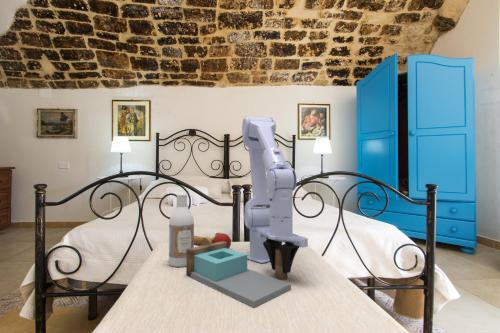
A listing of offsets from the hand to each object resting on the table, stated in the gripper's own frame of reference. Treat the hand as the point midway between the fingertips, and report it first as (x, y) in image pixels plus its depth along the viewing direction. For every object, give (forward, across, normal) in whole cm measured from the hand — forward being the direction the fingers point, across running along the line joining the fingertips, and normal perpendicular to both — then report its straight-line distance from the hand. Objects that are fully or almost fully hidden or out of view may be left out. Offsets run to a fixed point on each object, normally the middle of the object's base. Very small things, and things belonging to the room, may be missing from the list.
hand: (281, 270), depth 69 cm
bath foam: (+2, -27, -12) cm, 30 cm away
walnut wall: (+2, -17, -10) cm, 20 cm away
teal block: (0, -12, -10) cm, 15 cm away
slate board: (+2, -6, -10) cm, 12 cm away
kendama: (+2, -35, +4) cm, 35 cm away
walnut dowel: (+2, 0, 0) cm, 2 cm away
